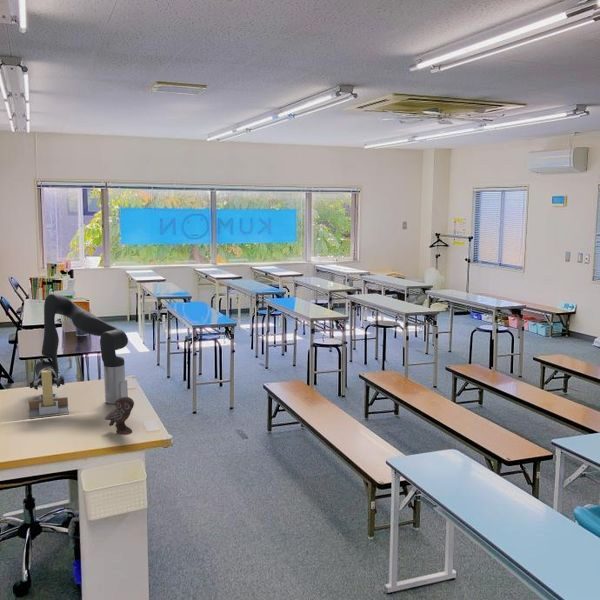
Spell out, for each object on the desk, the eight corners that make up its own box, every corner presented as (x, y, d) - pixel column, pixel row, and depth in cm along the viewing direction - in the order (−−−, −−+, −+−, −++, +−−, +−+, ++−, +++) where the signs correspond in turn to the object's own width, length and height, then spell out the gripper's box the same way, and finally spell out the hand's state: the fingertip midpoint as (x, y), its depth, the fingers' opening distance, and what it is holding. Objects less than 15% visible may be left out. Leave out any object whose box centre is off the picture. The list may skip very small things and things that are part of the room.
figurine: (103, 430, 252) (103, 394, 249) (112, 425, 257) (112, 390, 254) (127, 437, 247) (128, 401, 244) (137, 432, 252) (137, 397, 249)
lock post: (44, 410, 276) (41, 370, 274) (53, 409, 278) (51, 369, 275) (44, 413, 273) (41, 372, 270) (53, 411, 274) (51, 371, 271)
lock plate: (30, 403, 289) (29, 393, 289) (67, 398, 295) (66, 390, 295) (28, 419, 267) (28, 409, 267) (69, 414, 273) (68, 404, 272)
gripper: (29, 370, 285) (28, 379, 270) (63, 367, 290) (64, 376, 275) (30, 386, 286) (30, 396, 271) (64, 383, 291) (65, 392, 277)
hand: (47, 386), depth 273 cm, fingers open, 8 cm apart
